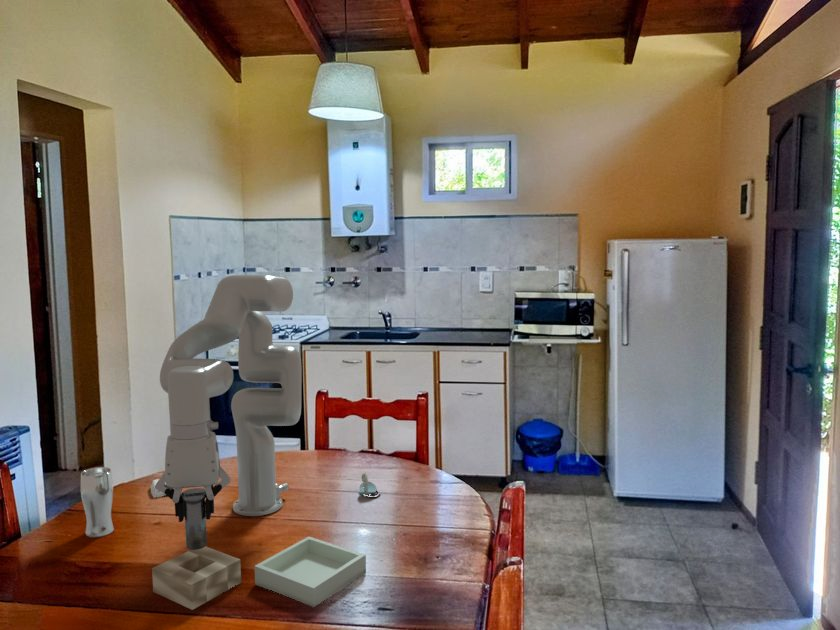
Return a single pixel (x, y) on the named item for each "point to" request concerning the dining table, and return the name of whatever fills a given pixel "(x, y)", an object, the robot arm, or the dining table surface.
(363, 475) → the pacifier
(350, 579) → the tray
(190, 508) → the steel pin
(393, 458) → the dining table surface
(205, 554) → the pin block
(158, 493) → the soap
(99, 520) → the beer glass
